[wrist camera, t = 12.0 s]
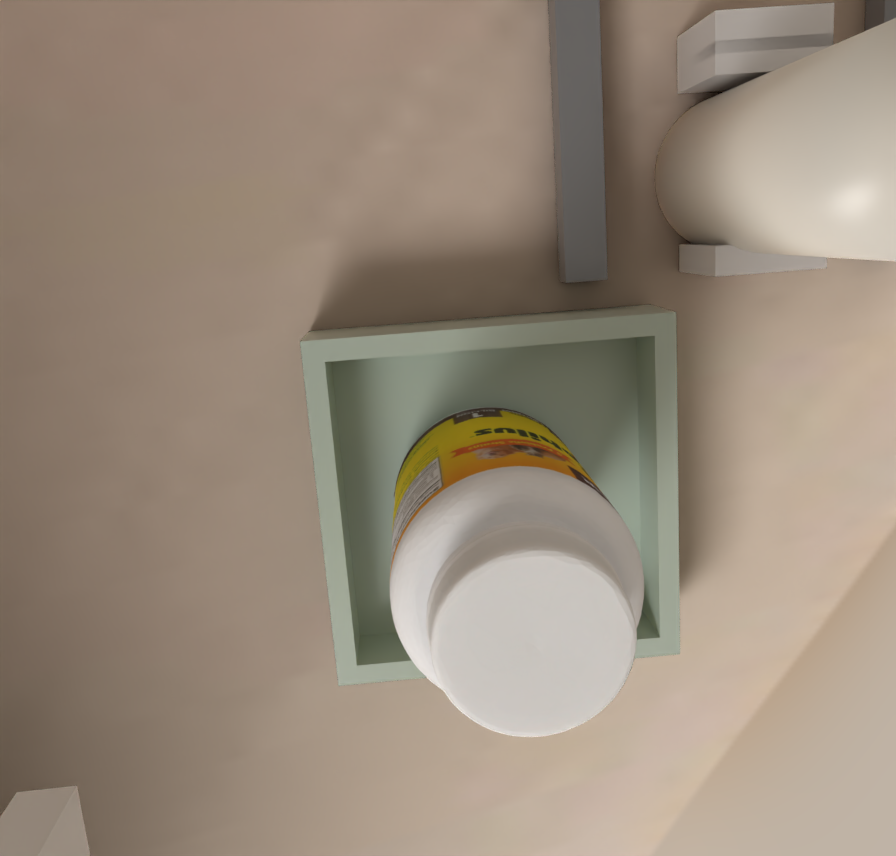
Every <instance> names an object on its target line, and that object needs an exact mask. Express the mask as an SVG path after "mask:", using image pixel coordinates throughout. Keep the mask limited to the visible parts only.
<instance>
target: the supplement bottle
mask: <svg viewBox="0 0 896 856" xmlns="http://www.w3.org/2000/svg"><path fill="white" fill-rule="evenodd" d="M643 600H644V574H643V567H642V562H641V558H640V554H639V551H638V548H637V545H636V543H635V541H634V538H633V536H632V534H631V532H630V531H629V529H628V527H627V525H626V524H625V522H624V521H623V519H622V518H621V516H620V515H619V513H618V512H617V511H616V509H615V508H614V507H613V506H612V504H611V503H610V502H609V500H608V499H607V498H606V496H605V495H604V494H603V493H602V492H601V490H600V489H599V488H598V487H597V485H596V484H595V483H594V481H593V480H592V479H591V477H590V476H589V475H588V473H587V472H586V471H585V469H584V468H583V467H582V466H581V464H580V463H579V462H578V461H577V459H576V458H575V457H574V455H573V454H572V453H571V452H570V450H569V449H568V448H567V446H566V445H565V444H564V443H563V442H562V440H561V439H560V438H559V437H558V436H557V435H556V434H555V433H554V432H553V431H552V430H551V429H550V428H548V427H547V426H546V425H544V424H543V423H542V422H540V421H538V420H537V419H535V418H533V417H531V416H529V415H527V414H524V413H522V412H519V411H515V410H512V409H508V408H502V407H477V408H471V409H466V410H462V411H459V412H456V413H453V414H451V415H449V416H447V417H445V418H443V419H441V420H439V421H438V422H436V423H435V424H433V425H432V426H431V427H429V428H428V429H427V430H426V431H425V432H424V433H422V434H421V436H420V437H419V438H418V439H417V440H416V441H415V442H414V444H413V445H412V446H411V448H410V449H409V451H408V453H407V454H406V456H405V458H404V460H403V462H402V465H401V467H400V470H399V473H398V477H397V481H396V486H395V492H394V512H393V526H392V550H391V567H390V602H391V611H392V616H393V621H394V625H395V628H396V631H397V633H398V636H399V638H400V641H401V643H402V645H403V647H404V649H405V650H406V652H407V654H408V655H409V657H410V658H411V660H412V661H413V663H414V664H415V665H416V667H417V668H418V669H419V670H420V671H421V672H422V673H423V674H424V675H425V676H426V677H427V678H428V679H429V680H430V681H431V682H432V683H433V684H435V685H436V686H438V687H439V688H440V689H442V690H443V691H444V692H445V694H446V695H447V697H448V698H449V699H450V701H451V702H452V703H453V704H454V705H455V706H456V707H457V709H459V710H460V711H461V712H462V713H463V714H464V715H466V716H467V717H469V718H470V719H471V720H473V721H474V722H476V723H478V724H480V725H481V726H483V727H485V728H488V729H490V730H492V731H495V732H498V733H502V734H506V735H510V736H518V737H542V736H548V735H553V734H557V733H561V732H564V731H567V730H569V729H572V728H574V727H577V726H579V725H582V724H583V723H585V722H587V721H588V720H590V719H591V718H593V717H594V716H596V715H597V714H598V713H600V712H601V711H602V710H603V709H604V708H605V707H606V706H607V705H608V704H609V703H610V702H611V701H612V700H613V699H614V698H615V697H616V695H617V694H618V692H619V691H620V690H621V688H622V686H623V685H624V683H625V681H626V679H627V677H628V675H629V673H630V670H631V668H632V665H633V661H634V658H635V652H636V644H637V626H638V624H639V620H640V617H641V612H642V606H643Z"/></svg>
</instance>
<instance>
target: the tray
mask: <svg viewBox="0 0 896 856" xmlns="http://www.w3.org/2000/svg"><path fill="white" fill-rule="evenodd" d="M300 347H301V356H302V365H303V374H304V383H305V392H306V401H307V410H308V418H309V427H310V436H311V445H312V454H313V463H314V472H315V481H316V490H317V499H318V508H319V517H320V526H321V535H322V543H323V552H324V561H325V570H326V579H327V588H328V597H329V606H330V615H331V624H332V633H333V642H334V651H335V660H336V668H337V677H338V686H344V685H355V684H366V683H376V682H387V681H398V680H409V679H419V678H427V677H426V676H425V675H424V674H423V673H422V672H421V671H420V670H419V669H418V668H417V667H416V665H415V664H414V663H413V661H412V660H411V658H410V657H409V655H408V654H407V652H406V650H405V649H404V647H403V645H402V643H401V641H400V638H399V636H398V633H397V631H396V628H395V625H394V621H393V616H392V611H391V602H390V567H391V550H392V526H393V512H394V492H395V486H396V481H397V477H398V473H399V470H400V467H401V465H402V462H403V460H404V458H405V456H406V454H407V453H408V451H409V449H410V448H411V446H412V445H413V444H414V442H415V441H416V440H417V439H418V438H419V437H420V436H421V434H422V433H424V432H425V431H426V430H427V429H428V428H429V427H431V426H432V425H433V424H435V423H436V422H438V421H439V420H441V419H443V418H445V417H447V416H449V415H451V414H453V413H456V412H459V411H462V410H466V409H471V408H477V407H502V408H508V409H512V410H515V411H519V412H522V413H524V414H527V415H529V416H531V417H533V418H535V419H537V420H538V421H540V422H542V423H543V424H544V425H546V426H547V427H548V428H550V429H551V430H552V431H553V432H554V433H555V434H556V435H557V436H558V437H559V438H560V439H561V440H562V442H563V443H564V444H565V445H566V446H567V448H568V449H569V450H570V452H571V453H572V454H573V455H574V457H575V458H576V459H577V461H578V462H579V463H580V464H581V466H582V467H583V468H584V469H585V471H586V472H587V473H588V475H589V476H590V477H591V479H592V480H593V481H594V483H595V484H596V485H597V487H598V488H599V489H600V490H601V492H602V493H603V494H604V495H605V496H606V498H607V499H608V500H609V502H610V503H611V504H612V506H613V507H614V508H615V509H616V511H617V512H618V513H619V515H620V516H621V518H622V519H623V521H624V522H625V524H626V525H627V527H628V529H629V531H630V532H631V534H632V536H633V538H634V541H635V543H636V545H637V548H638V551H639V554H640V558H641V562H642V567H643V574H644V600H643V606H642V612H641V617H640V620H639V624H638V626H637V644H636V652H635V658H644V657H655V656H666V655H676V654H680V598H679V509H678V419H677V330H676V312H675V311H671V310H668V309H664V308H661V307H657V306H654V305H651V304H648V305H636V306H623V307H610V308H597V309H584V310H572V311H559V312H546V313H533V314H520V315H508V316H495V317H482V318H469V319H456V320H443V321H431V322H418V323H405V324H392V325H379V326H367V327H354V328H341V329H328V330H315V331H309V332H308V333H307V334H306V335H305V336H304V338H303V339H302V340H301V341H300Z"/></svg>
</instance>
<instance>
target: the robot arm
mask: <svg viewBox="0 0 896 856" xmlns="http://www.w3.org/2000/svg"><path fill="white" fill-rule="evenodd" d="M0 856H90V851H89V846H88V841H87V835H86V830H85V825H84V820H83V814H82V809H81V804H80V799H79V794H78V788H77V786H68V787H58V788H49V789H40V790H31V791H22V792H16V794H15V795H14V797H13V798H12V800H11V801H10V803H9V804H8V806H7V807H6V809H5V811H4V812H3V814H2V815H1V817H0Z"/></svg>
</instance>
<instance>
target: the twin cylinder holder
mask: <svg viewBox="0 0 896 856" xmlns="http://www.w3.org/2000/svg"><path fill="white" fill-rule="evenodd" d="M548 14H549V38H550V62H551V86H552V110H553V134H554V158H555V182H556V206H557V229H558V253H559V277H560V281H562V282H565V283H571V282H584V281H597V280H608V275H607V240H606V206H605V172H604V138H603V103H602V69H601V35H600V0H548ZM833 36H834V3H819V4H804V5H789V6H773V7H758V8H743V9H728V10H715V11H714V12H712V13H711V14H709V15H708V16H706V17H705V18H704V19H702V20H701V21H699V22H698V23H697V24H695V25H694V26H692V27H691V28H689V29H688V30H687V31H685V32H684V33H682V34H681V35H679V36H678V37H677V91H678V94H684V93H698V92H713V91H725V92H723V93H721V94H718V95H716V96H714V97H711V98H709V99H707V100H704V101H702V102H700V103H698V104H697V105H695V106H693V107H692V108H690V109H689V110H688V111H687V112H685V113H684V114H683V115H682V116H681V117H680V118H679V119H678V120H677V121H676V122H675V123H674V125H673V126H672V127H671V129H670V130H669V132H668V133H667V135H666V137H665V138H664V140H663V143H662V145H661V147H660V150H659V153H658V157H657V161H656V167H655V190H656V195H657V199H658V202H659V205H660V208H661V210H662V212H663V214H664V216H665V218H666V220H667V221H668V222H669V224H670V225H671V226H672V228H673V229H674V230H675V231H676V232H677V233H678V234H679V235H681V236H682V237H683V238H684V239H686V240H687V241H689V242H691V243H690V244H679V272H685V273H692V274H699V275H706V276H713V277H721V276H734V275H747V274H760V273H773V272H786V271H799V270H812V269H824V268H827V257H828V258H845V259H862V260H878V261H895V262H896V0H866V12H865V31H864V32H862V33H859V34H857V35H855V36H853V37H850V38H848V39H846V40H843V41H841V42H839V43H836V44H834V45H833ZM727 90H728V91H727Z"/></svg>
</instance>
